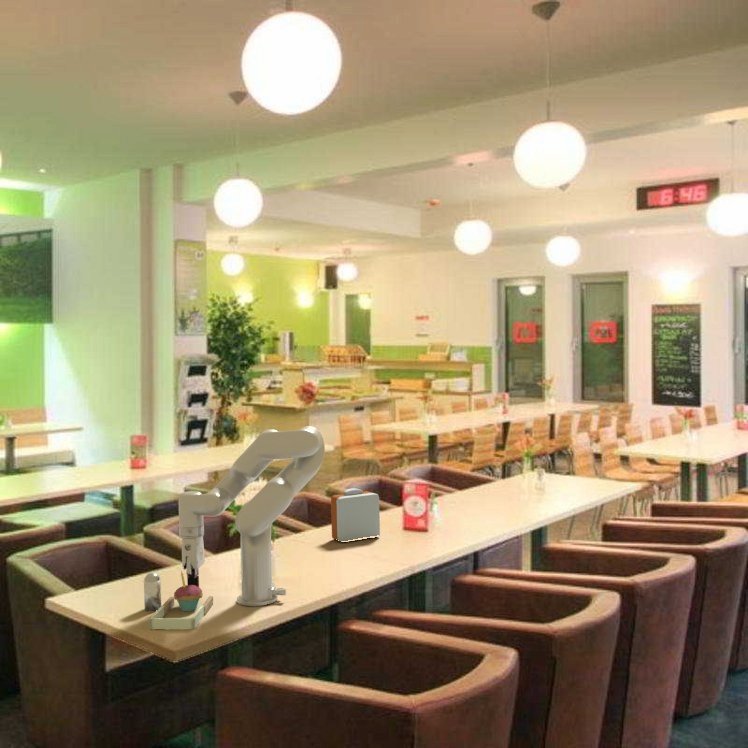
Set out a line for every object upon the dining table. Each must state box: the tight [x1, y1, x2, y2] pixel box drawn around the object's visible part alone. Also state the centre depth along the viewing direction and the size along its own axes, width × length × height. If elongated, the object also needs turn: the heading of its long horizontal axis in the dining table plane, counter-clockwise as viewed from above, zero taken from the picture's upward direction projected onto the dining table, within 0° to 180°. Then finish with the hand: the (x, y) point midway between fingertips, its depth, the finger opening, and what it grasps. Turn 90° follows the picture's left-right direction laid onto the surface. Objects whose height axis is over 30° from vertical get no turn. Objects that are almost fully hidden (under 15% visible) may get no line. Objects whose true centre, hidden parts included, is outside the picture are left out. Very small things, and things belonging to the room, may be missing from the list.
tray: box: [148, 604, 205, 630], centre depth 241 cm, size 13×12×3 cm
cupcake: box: [173, 570, 204, 612], centre depth 254 cm, size 9×8×12 cm
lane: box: [161, 595, 214, 617], centre depth 253 cm, size 13×11×2 cm
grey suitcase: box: [330, 487, 381, 542], centre depth 341 cm, size 18×9×21 cm, turn 120°
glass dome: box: [143, 572, 162, 612], centre depth 254 cm, size 5×5×11 cm
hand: (193, 589), depth 261 cm, fingers closed
